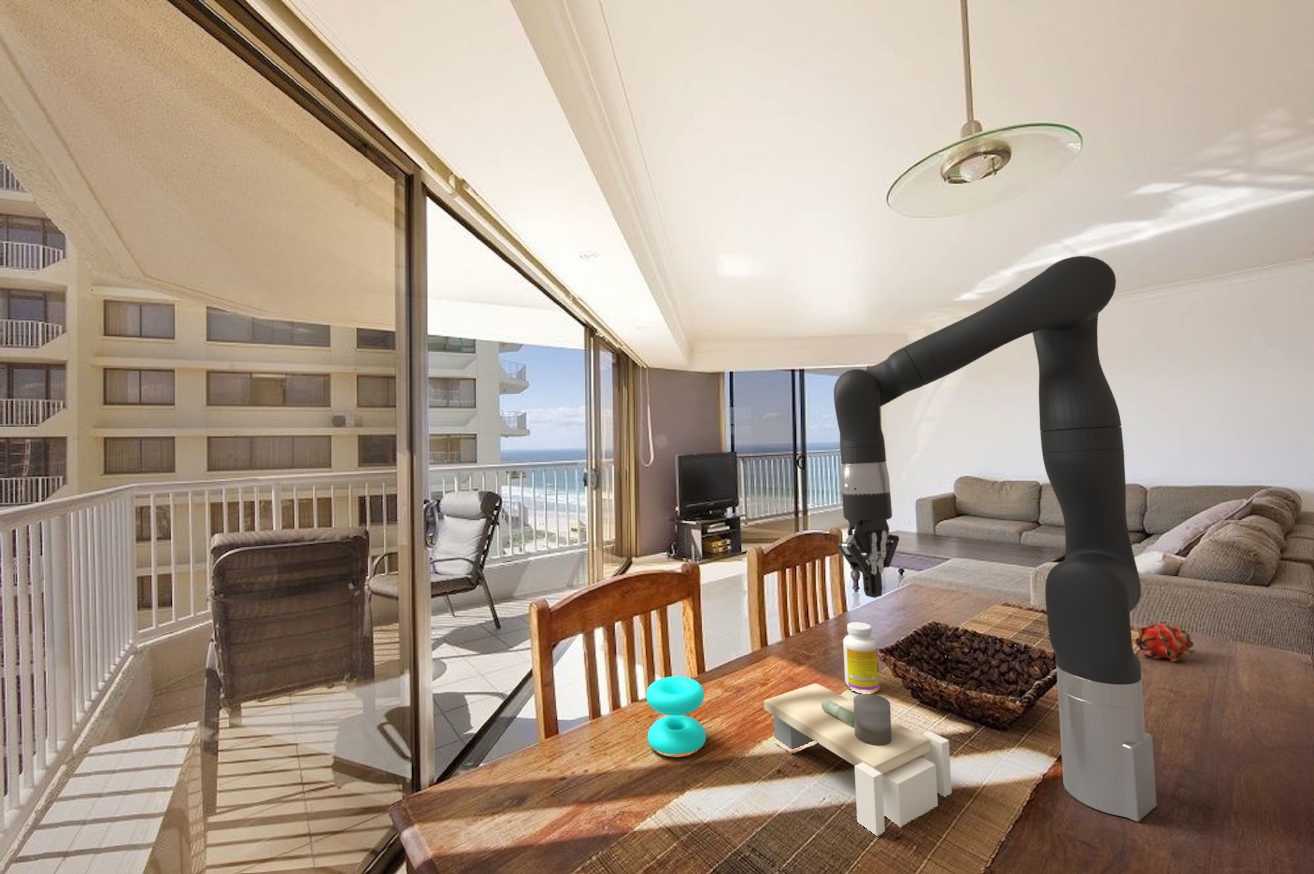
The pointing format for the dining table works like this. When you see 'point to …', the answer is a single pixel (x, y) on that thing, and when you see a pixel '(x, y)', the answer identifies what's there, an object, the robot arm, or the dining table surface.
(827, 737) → the board
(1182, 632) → the dragon fruit
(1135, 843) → the dining table surface
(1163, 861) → the dining table surface
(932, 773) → the level stand
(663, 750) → the donuts
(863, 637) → the supplement bottle
